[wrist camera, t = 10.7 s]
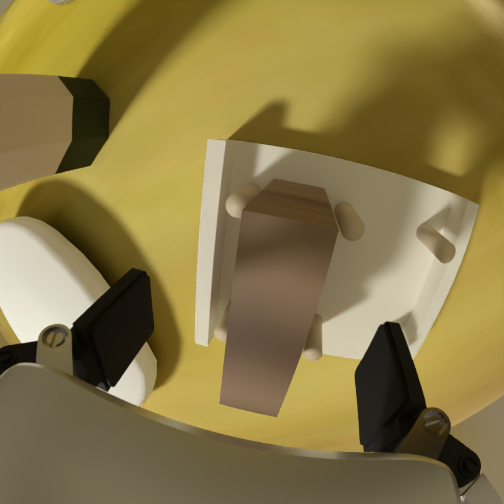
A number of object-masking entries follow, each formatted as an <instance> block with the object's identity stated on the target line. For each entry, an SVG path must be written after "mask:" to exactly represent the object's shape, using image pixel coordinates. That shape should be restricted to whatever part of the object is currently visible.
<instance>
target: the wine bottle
mask: <svg viewBox="0 0 504 504" xmlns="http://www.w3.org/2000/svg"><path fill="white" fill-rule="evenodd" d="M109 103H110V99H109V98H108V97H107V96H106V95H105V94H104V93H103V91H102V90H101V89H100V88H99V87H98V86H97V85H96V83H95V82H94V81H93V80H88V79H81V78H72V77H63V76H51V75H34V74H0V191H1V190H4V189H7V188H10V187H13V186H16V185H19V184H22V183H26V182H29V181H32V180H36V179H39V178H43V177H46V176H50V175H54V174H58V173H61V172H65V171H70V170H74V169H78V168H83V167H87V166H90V165H91V164H92V162H93V160H94V159H95V157H96V156H97V154H98V152H99V151H100V149H101V148H102V146H103V145H104V143H105V142H106V140H107V139H108V131H109Z"/></svg>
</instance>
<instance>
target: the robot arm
mask: <svg viewBox="0 0 504 504" xmlns="http://www.w3.org/2000/svg"><path fill="white" fill-rule="evenodd" d="M49 1H50V2H51V3H55V4H65V3H68V2H70V1H72V0H49ZM72 324H73V327H72V328H71V329H69V328H68V327H67V326H65V325H63V324H53V325H50V326H48V327H46V328H44V329H43V330H42V331H41V333H40V334H39V337H38V341H32V342H26V343H20V344H14V345H8V346H4V347H2V348H1V349H0V504H502V500H501V498H500V496H499V495H498V493H497V492H496V490H495V489H494V487H493V486H492V484H491V483H490V481H489V480H488V479H487V477H486V476H485V474H484V473H482V474H481V475H480V469H481V463H480V459H479V457H478V456H477V454H476V453H474V452H473V451H472V450H470V449H469V448H468V447H466V446H465V445H464V444H462V443H461V442H460V441H458V440H457V439H456V438H454V437H453V436H452V435H450V434H449V433H450V429H451V422H450V420H449V417H448V416H447V414H446V413H445V412H443V411H442V410H441V409H438V408H435V407H430V408H427V407H426V402H425V398H424V394H423V391H422V388H421V384H420V381H419V378H418V374H417V371H416V368H415V365H414V362H413V359H412V356H411V353H410V350H409V348H408V345H407V342H406V339H405V336H404V334H403V331H402V328H401V326H400V324H399V323H396V322H389V321H385V322H384V324H380V325H379V327H378V329H377V331H376V333H375V335H374V337H373V339H372V341H371V343H370V345H369V347H368V349H367V351H366V352H365V354H364V356H363V358H362V360H361V362H360V363H359V365H358V367H357V369H356V371H355V385H356V396H357V407H358V420H359V436H360V444H361V445H363V448H364V452H375V453H360V452H337V451H321V450H310V449H301V448H292V447H285V446H278V445H272V444H266V443H261V442H256V441H250V440H246V439H241V438H236V437H232V436H228V435H224V434H220V433H216V432H212V431H209V430H205V429H202V428H198V427H195V426H192V425H188V424H185V423H182V422H179V421H176V420H173V419H170V418H167V417H165V416H162V415H159V414H156V413H154V412H151V411H149V410H146V409H144V408H141V407H139V406H136V405H134V404H132V403H129V402H127V401H125V400H122V399H120V398H118V397H116V396H114V395H111V394H109V393H107V392H108V391H109V389H110V388H111V387H115V386H116V385H117V383H118V382H119V380H120V379H121V377H122V376H123V374H124V373H125V371H126V370H127V368H128V367H129V366H130V364H131V363H132V361H133V360H134V358H135V357H136V355H137V354H138V353H139V351H140V350H141V348H142V347H143V345H144V344H145V343H146V341H147V340H148V338H149V337H150V336H151V334H152V332H153V330H154V320H153V310H152V299H151V286H150V277H149V276H148V275H147V273H146V272H145V271H143V270H139V269H135V268H132V269H131V270H129V271H128V272H127V273H126V274H125V275H124V276H123V277H122V278H120V279H119V280H118V281H117V282H116V283H115V284H114V285H113V286H112V287H110V288H109V289H108V290H107V291H106V292H105V293H104V294H103V295H102V296H101V297H100V298H98V299H97V300H96V301H95V302H94V303H93V304H92V305H91V306H90V307H89V308H88V309H87V310H86V311H85V312H84V313H83V314H82V315H81V316H80V317H79V318H77V319H76V320H75V321H74V322H73V323H72ZM97 387H98V388H97ZM99 388H100V389H99ZM101 389H102V390H101ZM103 390H104V391H103ZM105 391H106V392H105Z"/></svg>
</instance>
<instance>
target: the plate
mask: <svg viewBox="0 0 504 504" xmlns="http://www.w3.org/2000/svg"><path fill="white" fill-rule="evenodd" d="M109 288H110V286H109V285H108V284H107V282H106V281H105V279H104V278H103V277H102V275H101V274H100V272H99V271H98V270H97V269H96V268H95V267H94V266H93V265H92V264H91V262H90V261H89V260H88V259H87V258H86V257H85V256H84V254H83V253H82V252H81V251H79V250H78V249H77V248H76V247H75V246H74V245H73V244H72V243H70V242H69V241H68V240H67V239H66V238H65V237H64V236H63V235H62V234H61V233H59V232H58V231H57V230H56V229H54V228H53V227H51V226H49V225H48V224H46V223H45V222H43V221H41V220H38V219H34V218H31V217H28V216H23V217H13V218H8V219H6V220H5V221H3V222H2V223H1V224H0V307H1V309H2V311H3V313H4V315H5V317H6V319H7V320H8V322H9V324H10V326H11V327H12V329H13V331H14V332H15V334H16V335H17V337H18V338H19V340H20V341H21V343H26V342H32V341H38V337H39V334H40V333H41V331H42V330H43V329H44V328H46V327H48V326H50V325H53V324H63V325H65V326H67V327H68V328H69V329H71V328H72V327H73V324H72V323H73V322H74V321H75V320H76V319H77V318H79V317H80V316H81V315H82V314H83V313H84V312H85V311H86V310H87V309H88V308H89V307H90V306H91V305H92V304H93V303H94V302H95V301H96V300H97V299H98V298H100V297H101V296H102V295H103V294H104V293H105V292H106V291H107V290H108V289H109ZM156 377H157V360H156V358H155V356H154V354H153V352H152V351H151V349H150V347H149V345H148V343H147V341H146V343H145V344H144V345H143V347H142V348H141V350H140V351H139V353H138V354H137V355H136V357H135V358H134V360H133V361H132V363H131V364H130V366H129V367H128V368H127V370H126V371H125V373H124V374H123V376H122V377H121V379H120V380H119V382H118V383H117V385H116V386H115V387H111V388H110V389H109V391H108V392H107V393H109V394H111V395H114V396H116V397H118V398H120V399H122V400H125V401H127V402H129V403H132V404H134V405H136V406H139V407H140V406H141V405H142V404H144V403H145V402H146V400H147V399H148V397H149V396H150V394H151V393H152V391H153V388H154V384H155V380H156ZM97 388H98V387H97ZM99 389H100V388H99ZM101 390H102V389H101ZM103 391H104V390H103ZM105 392H106V391H105Z"/></svg>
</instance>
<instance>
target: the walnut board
mask: <svg viewBox="0 0 504 504" xmlns="http://www.w3.org/2000/svg"><path fill="white" fill-rule="evenodd" d="M338 231H339V229H338V226H337V223H336V220H335V217H334V214H333V211H332V208H331V205H330V202H329V199H328V196H327V194H326V191H325V188H320V187H315V186H311V185H306V184H301V183H296V182H290V181H285V180H280V179H273V180H272V181H271V182H270V183H269V184H268V185H267V186H266V187H265V188H264V189H263V190H262V191H261V192H260V193H259V194H258V195H257V196H256V197H255V198H254V199H253V200H252V201H251V202H250V203H249V204H248V205H247V206H246V207H245V208H244V209H243V210H242V215H241V222H240V230H239V238H238V246H237V254H236V262H235V270H234V278H233V287H232V295H231V303H230V312H229V321H228V330H227V338H226V348H225V357H224V366H223V375H222V385H221V395H220V404H223V405H226V406H230V407H234V408H238V409H242V410H246V411H250V412H255V413H259V414H264V415H269V416H274V417H277V415H278V413H279V410H280V408H281V405H282V403H283V401H284V398H285V396H286V393H287V391H288V388H289V385H290V383H291V380H292V378H293V375H294V372H295V370H296V367H297V364H298V362H299V359H300V356H301V353H302V350H303V348H304V345H305V342H306V339H307V336H308V333H309V330H310V327H311V324H312V321H313V318H314V315H315V312H316V309H317V306H318V302H319V299H320V296H321V293H322V289H323V286H324V282H325V279H326V276H327V272H328V269H329V265H330V261H331V258H332V254H333V250H334V246H335V243H336V239H337V235H338Z"/></svg>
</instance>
